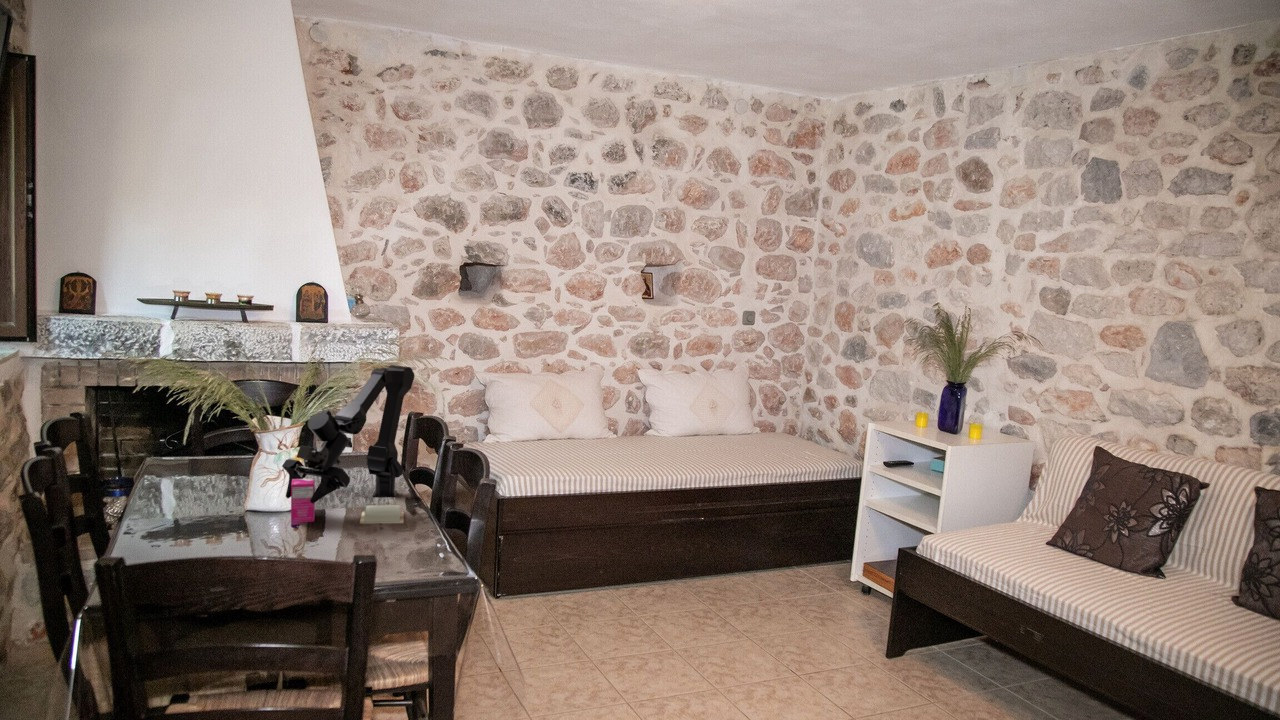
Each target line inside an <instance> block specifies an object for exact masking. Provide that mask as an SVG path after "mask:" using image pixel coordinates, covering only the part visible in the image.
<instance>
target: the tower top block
mask: <svg viewBox="0 0 1280 720" xmlns="http://www.w3.org/2000/svg"><path fill="white" fill-rule="evenodd" d="M400 511H401V505H397V504H396V505H394V504H393V505H391V504H390V505H366V506H365V514H364V523H374V522H400ZM374 524H375V523H374Z"/></svg>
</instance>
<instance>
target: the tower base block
mask: <svg viewBox="0 0 1280 720" xmlns="http://www.w3.org/2000/svg"><path fill="white" fill-rule="evenodd" d="M364 514H365V511H362V512H361V517H360V520H359V524H360V525H361V524H363V525H365V524H366V525H367V524H368V525H369V524H370V525H371V524H374V525H375V524H404V516H405V513H404V510H400V522H374V523H364Z"/></svg>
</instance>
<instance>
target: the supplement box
mask: <svg viewBox="0 0 1280 720" xmlns="http://www.w3.org/2000/svg"><path fill="white" fill-rule="evenodd" d="M315 483H316V481H315V478H314V477H313V478H312V477H310V478H303V479H292V483H291V497H290V525H291V526H290V527H293V528H294V527H295V528H296V526H299V527H300V526H301V524H302V523H311V522H315V516H316V513H315V512H316V509H315V508H316V507H315V503H316V502H315V503H311V502H310V500H311V498H312V496H313V494H314V493H315V491H316V490H315V487H316V486H315V485H316V484H315Z"/></svg>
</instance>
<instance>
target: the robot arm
mask: <svg viewBox="0 0 1280 720" xmlns="http://www.w3.org/2000/svg"><path fill="white" fill-rule="evenodd" d="M414 379H415V372H414V371H413V369H412V368H411V367H410V366H403V365H397V364H396V365H395V364H392V365H389V366H388V367H382V368H375V369H373V370H372V371H371V374H370V377H369V378H368V379H367V381H366V382H365V384H364V385H363V386H362V388H361V389H360V391H359V392H358V393H357V395H356V396H355V397H354V399H353V400H352V401H351V402H350V403H349V404H347V405H345V406H344V407H342V408H341V409H340V410H339V411H338V412H337V413H336V414H335V415H334V416H333V414H332V413H331V411H330V410H328V409H322V410H321V412H317V413H316V414H314V415H313V416H312V417H310V418H309V419H308V421H307V427H308V429H310V431H311V432H312V433H313V434H314V435H315V437H316V438H317V440H319V441H320V442H322V444H320V445H319V446H317V447H316V446H315V447H311V446H305V445H299V448H298V452H297V454H296V458H298V459H302V460H303V462H304V463H305V465H307V466H305V465H304V464H303V463H302V461H300V460H298V459H292V458H289V459H285V461H284V462H283V464H282V465H281V467H282V469H284V470H285V472H286V473H288V483H287V488H286V492H285V497H286V499H291V483H292V479H306V477H307V476H312V477H319V478H320V482H319V484H318V486H317V487H316V490H315V493H314V494H313V496H312V498H311V500H310V502H311V503H316V502H318V501H320V500H321V499H323V498H324V497H325V496H326V497H327V495H329V494H331V493H333V492H334V491H336V490H340V489H341V488H344V489H345V488H348V486H349V484H350V483H351V478H350V476H349V475H348V473H347V472H346V471H345V470H344V469H343V468H342V467H336V466H335V465H339V464H340V463H341V460H340V457H341V456H342V454H343V452H344V450H346V448H350V449H351V448H353V443H352V442H353V441H352V437H349V436H347V435H346V434H349V435H358V434H360V433H361V431H362V430H363V428H364V427H365V425H366V422H367V414H368V412H369V410H370V408H371V407H372V406H373V405H374V402H376V400H377V399H378V397H379V395H380V394H381V393H382V391H383V390H384V389H385V392H386V397H385V402H384V407H383V411H382V412H383V413H382V416H381V421H380V426H379V431H378V437H377V441H375V443H373V445H369V446H368V449H367V455H366V458H365V459H366V465H367V469H368V473H369V475H373V476H375V485H374V486H375V487H374V488H375V489H374V492H373V494H372V497H373V498H396V496H397V493H398V490H396V478H400V477H401V476H403V473H404V467H403V466H402V465H401V463H400V462H399V460H398V457H399V452H398V449H397V447H396V443H395V441H396V438H397V434H398V427H399V424H400V418H401V412H402V408H403V403H404V397H405V396H406V394H407V393H408V392H409V391H410V390H411V389H412V387H413V382H414Z"/></svg>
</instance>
